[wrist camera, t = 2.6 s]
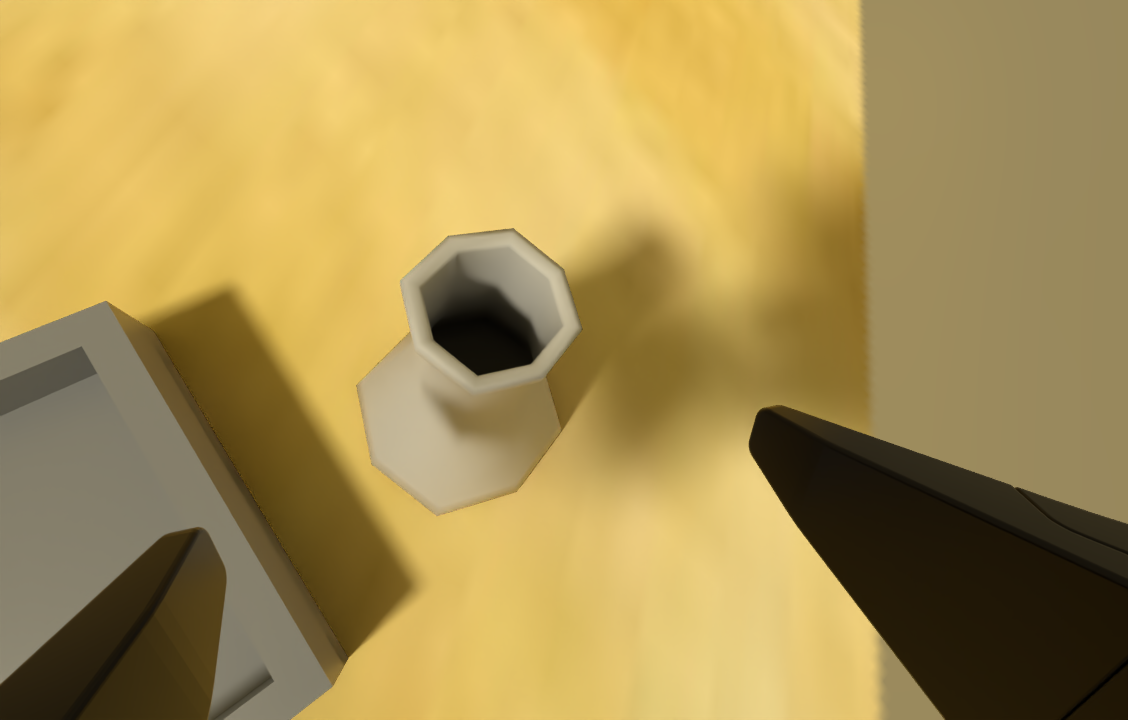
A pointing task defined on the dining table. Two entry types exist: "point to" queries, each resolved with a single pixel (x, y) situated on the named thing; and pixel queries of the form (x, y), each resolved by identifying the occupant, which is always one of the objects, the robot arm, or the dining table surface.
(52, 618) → the caddy tray
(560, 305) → the flask
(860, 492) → the robot arm
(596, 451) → the dining table surface
